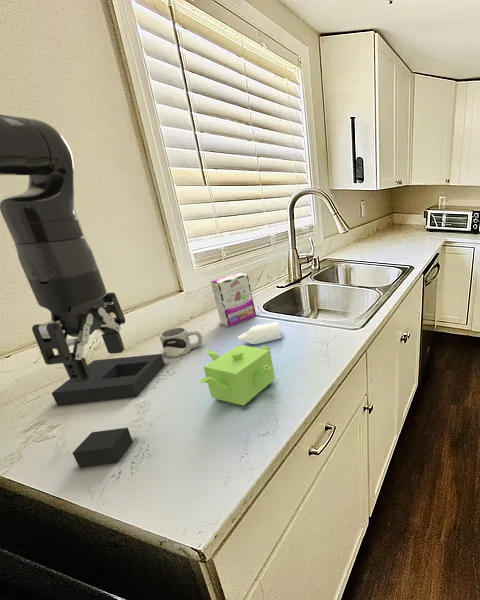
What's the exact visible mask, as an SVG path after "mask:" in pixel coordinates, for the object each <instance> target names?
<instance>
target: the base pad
mask: <svg viewBox="0 0 480 600" xmlns="http://www.w3.org/2000/svg"><path fill="white" fill-rule="evenodd" d="M165 364H166V363H165V361H164V358H163V354H162V353H155V354H145V355H136V356H134V355H133V356H125V357H115V358H104V359H103V358H102V359H94V360H92V361H91V362H90V363H87V365H88V368H89V370H90V372H91V375H92V378H91V379H89V380H88V381H84V382H74V381H72V380H71V379H70V378H69V379H67V380H66V381H65V382H64V383H62V384H61V385H60V386H59V387H57V388H56V389H55V390H53V391H52V392H51V395H52V398H53V400H54V402H55V405H57V407H62V406H70V405H80V404H87V403H88V404H89V403H96V402H104V401H114V400H121V399H122V400H123V399H131V398H137V397H138V396H139V395H140V394H141V393H142V392H144V390H145V389H146V387H148V385H149V384H150V383H152V381H153V380H154V378H155V377H156V376H157V375H158V374H159V373H160V371H161V370H162V369H163V368H164V367H165V366H166V365H165Z"/></svg>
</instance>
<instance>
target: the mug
mask: <svg viewBox="0 0 480 600" xmlns="http://www.w3.org/2000/svg"><path fill="white" fill-rule="evenodd" d="M158 335H159V340H160V343H161V346H162V350H163V352H164V355H165V357H167V358H176V357H180V356H183V355H186V354H188V353H189V352H190V351H192V349H195V348H197V347H200V346H202V345H203V342H204V340H203V336H202V334H201V332H200V331H195V330H188V329H187V327H182V326H181V327H179V326H177V327H171V328H168V329H165V330H163V331H161V332H160V333H159V334H158ZM191 336H197V340H198V342H196V343H195V342H194V343H191V341H190V337H191Z"/></svg>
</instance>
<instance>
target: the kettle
mask: <svg viewBox="0 0 480 600" xmlns="http://www.w3.org/2000/svg"><path fill="white" fill-rule="evenodd" d="M205 353H206V354H207V355H208V356H209V357H210V358H211V359H212V361H211V362H209V363H208V364H207V365H205V366H204V367H203V370H204V375H205V377H204V378H202V379H200V380H199V381H198V383H200V384H204V383H206V384H207V385H208V389H209V393H210V397H211V399H215V400H219V401H223V402H227V403H231V404H235V405H238V406H243V407H244V406H245V405H247V403H249V402H250V401H252V399H253V398H255V397H256V396H257V395H259V393H260V392H262V391H263V390H265V389H266V388H267V387H268V385H270V384H271V383H272V382H273V381H274V380H276V376H275V371H274V364H273V358H272V353H271V348H270V347H269V346H267V345H262V346H261V348H260V347H254V346H250V345H249V346H248V345H242V344H239V345H237V346H236V347H234V348H232V349H231V350H229V351H227V352H225V353H224V354H221V356H220V354H218V353H217V352H216V351H214V350H211V349H208V350H205Z"/></svg>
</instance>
